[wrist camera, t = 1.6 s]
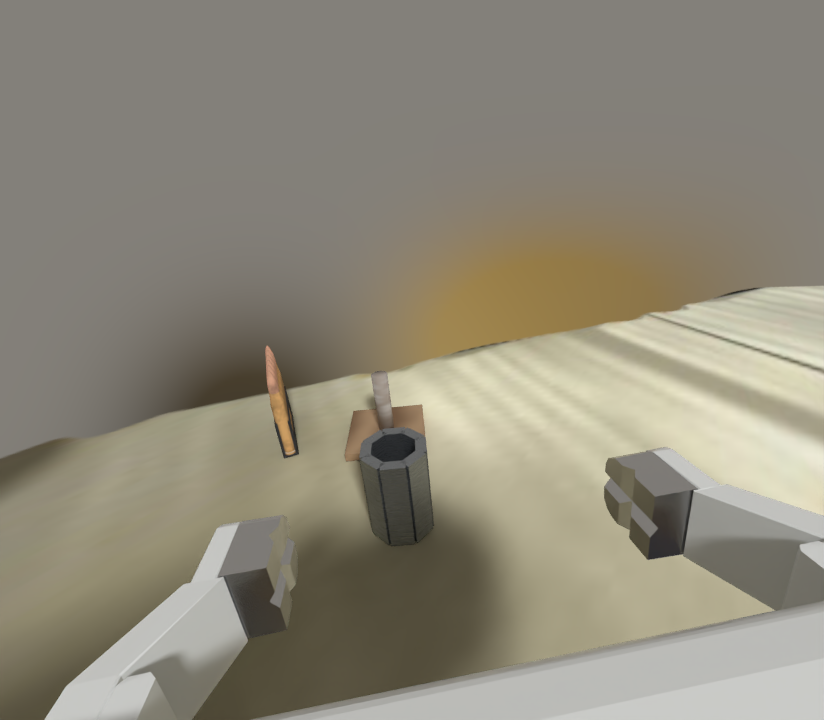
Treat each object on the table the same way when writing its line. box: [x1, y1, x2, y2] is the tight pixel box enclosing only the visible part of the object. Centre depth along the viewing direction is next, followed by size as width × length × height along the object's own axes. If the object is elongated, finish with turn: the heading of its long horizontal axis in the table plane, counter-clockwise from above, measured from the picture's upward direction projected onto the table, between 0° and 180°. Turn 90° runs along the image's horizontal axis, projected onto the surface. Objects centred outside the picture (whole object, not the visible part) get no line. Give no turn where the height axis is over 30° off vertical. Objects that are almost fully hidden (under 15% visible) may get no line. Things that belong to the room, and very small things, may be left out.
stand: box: [345, 371, 425, 461], centre depth 51 cm, size 10×10×9 cm
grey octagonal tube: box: [359, 427, 434, 546], centre depth 38 cm, size 6×6×9 cm
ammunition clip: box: [265, 346, 299, 458], centre depth 53 cm, size 11×2×12 cm, turn 20°
